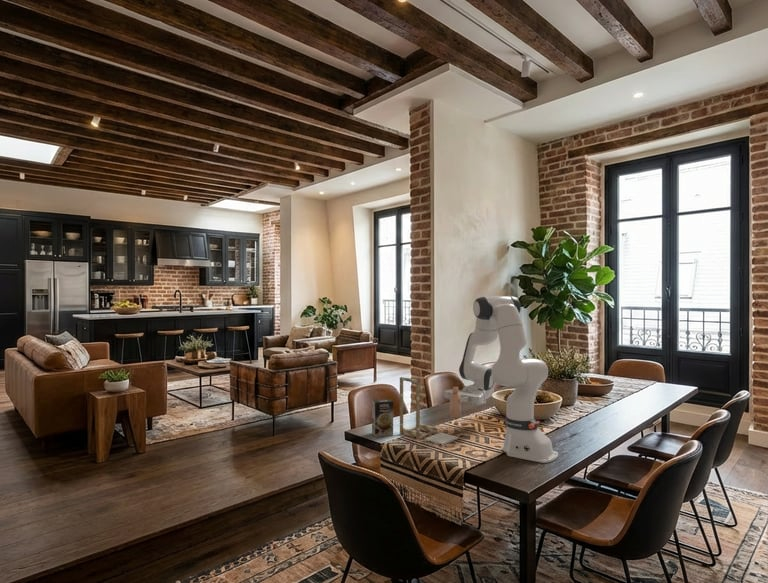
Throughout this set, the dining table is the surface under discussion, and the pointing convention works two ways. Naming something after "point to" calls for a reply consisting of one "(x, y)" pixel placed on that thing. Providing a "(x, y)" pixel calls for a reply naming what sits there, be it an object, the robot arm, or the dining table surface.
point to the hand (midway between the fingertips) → (454, 399)
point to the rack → (418, 425)
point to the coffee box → (382, 417)
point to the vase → (455, 404)
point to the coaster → (441, 438)
